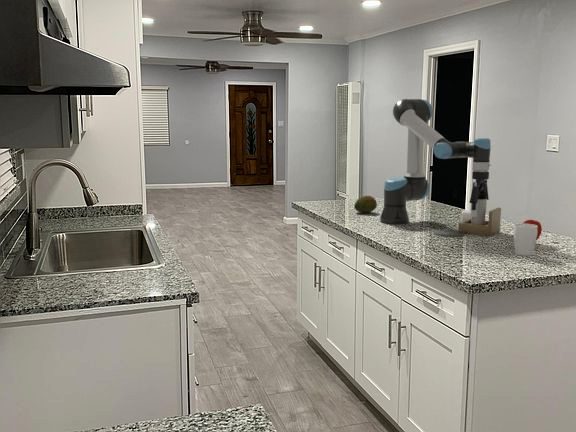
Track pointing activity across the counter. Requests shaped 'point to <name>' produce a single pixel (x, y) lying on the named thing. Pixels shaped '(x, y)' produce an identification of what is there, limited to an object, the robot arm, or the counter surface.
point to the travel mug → (480, 210)
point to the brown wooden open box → (483, 230)
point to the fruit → (365, 204)
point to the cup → (525, 239)
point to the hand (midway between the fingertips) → (478, 214)
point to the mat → (449, 233)
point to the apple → (539, 228)
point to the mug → (465, 215)
